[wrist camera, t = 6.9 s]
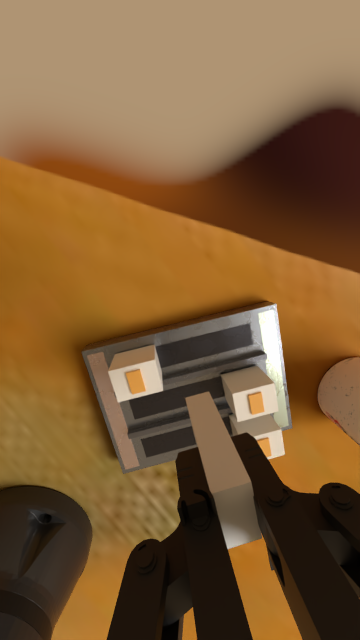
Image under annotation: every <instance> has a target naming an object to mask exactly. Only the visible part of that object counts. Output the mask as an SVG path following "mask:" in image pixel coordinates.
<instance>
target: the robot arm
mask: <svg viewBox="0 0 360 640" xmlns="http://www.w3.org/2000/svg"><path fill="white" fill-rule="evenodd" d="M185 399H186V404H187V408H188V412H189V416H190V420H191V424H192V428H193V432H194V436H195V440H196V444H197V447H195V448H192V449H188V450H185V451H181V452H178V455H177V458H176V461H175V462H176V469H177V476H178V484H179V491H180V498H179V500H178V506H177V509H178V513H179V516H180V520H181V521H180V524H179V526H178V527H177V529H176V530H175V531H174V532H173V533H172V534H171V535H170V536H168V537H167V538H166V539H164V540H163V541H161V542H159V541H158V540H156V539H147V540H143V541H142V542H141V543H139V544H138V545H136V547H135V548H134V549H133V551H132V552H131V554H130V556H129V558H128V561H127V564H126V568H125V572H124V576H123V579H122V583H121V587H120V591H119V595H118V599H117V602H116V606H115V610H114V614H113V618H112V621H111V625H110V629H109V633H108V637H107V640H182V632H183V618H184V614H185V613H186V612H187V611H189V610H190V609H191V608H192V607H193V610H194V618H195V626H196V633H197V640H253V639H252V635H251V632H250V628H249V624H248V621H247V617H246V614H245V610H244V607H243V603H242V599H241V596H240V592H239V589H238V585H237V581H236V578H235V574H234V571H233V567H232V563H231V560H230V556H229V553H228V549H229V548H233V547H236V546H239V545H242V544H245V543H249V542H252V541H255V540H258V539H261V538H262V535H263V537H264V540H265V542H266V546H267V551H268V556H269V562H270V566H271V571H272V570H275V572H276V575H277V577H278V580H279V582H280V585H281V587H282V590H283V592H284V594H285V597H286V599H287V602H288V604H289V607H290V609H291V612H292V614H293V617H294V619H295V621H296V624H297V626H298V629H299V631H300V634H301V636H302V639H303V640H360V599H359V598H360V494H359V493H357V492H356V491H355V490H353V489H352V488H350V487H348V486H347V485H344V484H340V483H328V484H325V485H323V486H322V487H321V489H320V491H319V494H314V493H300V492H296V491H293V490H291V489H290V488H289V487H287V486H286V485H284V484H283V483H282V481H281V480H280V479H279V477H278V475H277V474H276V472H275V470H274V469H273V467H272V465H271V464H270V462H269V460H268V459H267V457H266V456H265V455H264V452H263V451H262V449H261V448H260V446H259V444H258V442H257V441H256V439H255V438H254V437H253V436H251V435H250V434H249V433H247V432H246V433H242V434H239V435H235V436H232V437H230V435H229V433H228V431H227V429H226V427H225V425H224V422H223V420H222V418H221V416H220V414H219V412H218V410H217V407H216V405H215V403H214V401H213V399H212V397H211V395H210V393H209V391H208V392H205V393H201V394H197V395H194V396H190V397H186V398H185ZM261 533H262V535H261ZM91 542H92V527H91V523H90V520H89V518H88V516H87V514H86V513H85V511H84V510H83V509H82V508H81V507H80V506H79V505H78V504H77V503H76V502H75V501H73V500H72V499H71V498H69V497H67V496H66V495H64V494H61V493H59V492H57V491H54V490H51V489H46V488H41V487H31V486H25V487H14V488H9V489H5V490H1V491H0V640H51V637H52V633H53V630H54V627H55V625H56V623H57V621H58V619H59V617H60V615H61V613H62V611H63V609H64V607H65V605H66V603H67V601H68V599H69V597H70V595H71V593H72V591H73V589H74V587H75V585H76V583H77V581H78V579H79V577H80V576H81V574H82V572H83V570H84V568H85V565H86V563H87V559H88V555H89V551H90V546H91Z"/></svg>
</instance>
